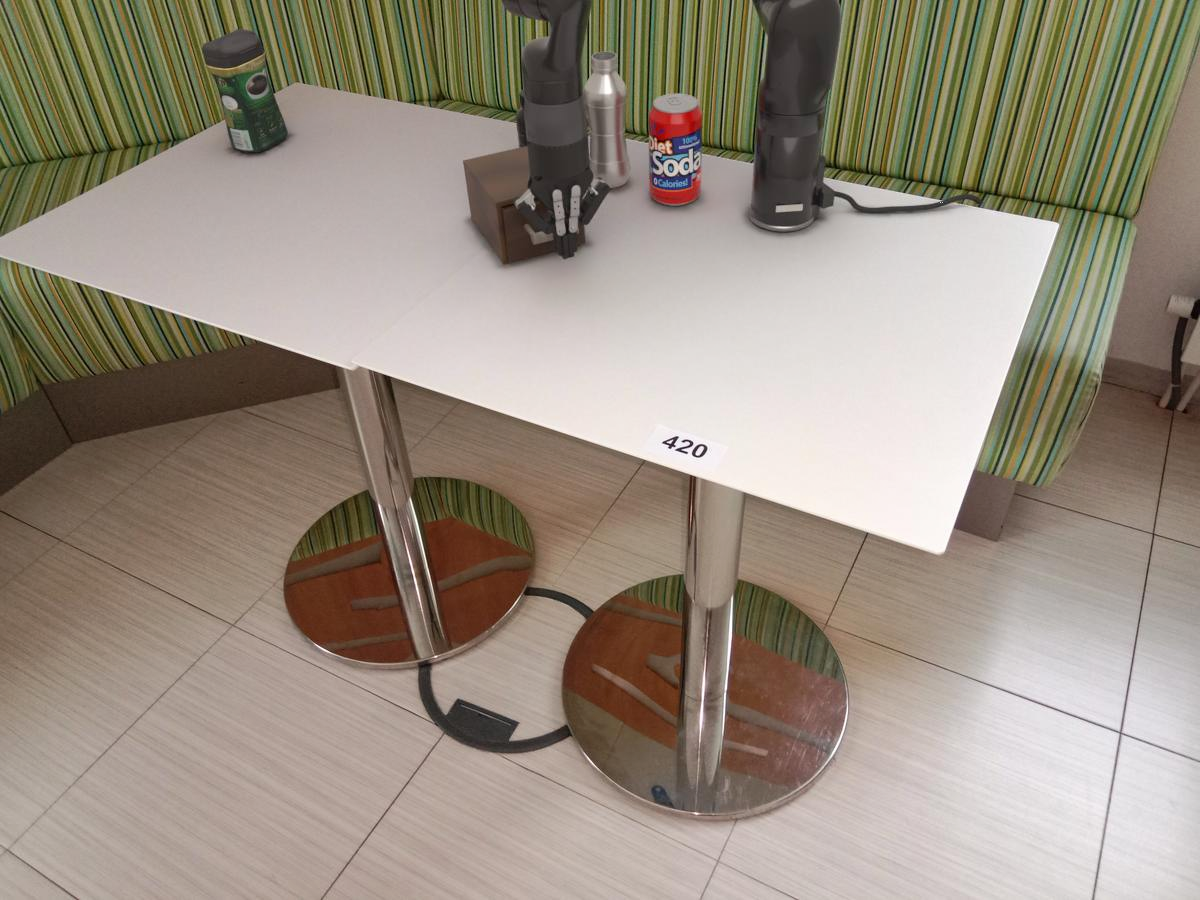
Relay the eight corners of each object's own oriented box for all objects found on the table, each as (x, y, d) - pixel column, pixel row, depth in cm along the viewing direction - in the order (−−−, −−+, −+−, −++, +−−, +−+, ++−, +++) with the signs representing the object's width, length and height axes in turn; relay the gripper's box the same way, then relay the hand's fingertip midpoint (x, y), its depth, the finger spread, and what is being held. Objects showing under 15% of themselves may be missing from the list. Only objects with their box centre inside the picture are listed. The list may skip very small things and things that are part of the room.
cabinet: (585, 243, 140) (581, 181, 134) (503, 264, 137) (495, 202, 130) (548, 201, 150) (543, 141, 144) (471, 220, 147) (462, 160, 140)
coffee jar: (264, 128, 176) (233, 22, 163) (296, 136, 172) (267, 28, 160) (224, 149, 170) (189, 41, 157) (256, 158, 166) (223, 48, 154)
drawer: (597, 257, 135) (594, 206, 130) (520, 277, 132) (515, 226, 127) (550, 202, 148) (545, 154, 143) (479, 220, 145) (472, 171, 139)
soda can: (691, 182, 153) (693, 87, 143) (707, 205, 147) (710, 108, 137) (643, 189, 151) (641, 95, 141) (657, 213, 146) (657, 116, 136)
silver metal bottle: (627, 194, 151) (623, 64, 137) (584, 192, 152) (576, 63, 138) (634, 175, 155) (631, 48, 142) (593, 173, 156) (586, 47, 143)
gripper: (595, 108, 122) (601, 231, 133) (495, 129, 118) (510, 254, 130) (619, 130, 117) (623, 256, 128) (515, 153, 113) (529, 281, 125)
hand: (566, 255), depth 129 cm, fingers closed
